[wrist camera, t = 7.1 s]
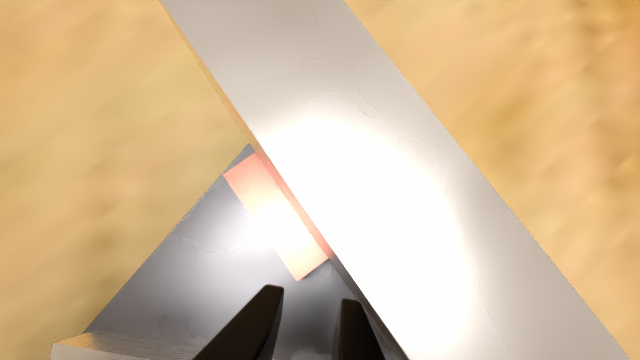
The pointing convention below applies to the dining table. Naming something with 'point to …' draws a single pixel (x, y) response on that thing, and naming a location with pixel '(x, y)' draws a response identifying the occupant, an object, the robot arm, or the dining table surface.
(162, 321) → the base
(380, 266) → the swing bar
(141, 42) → the dining table surface
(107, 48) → the dining table surface
